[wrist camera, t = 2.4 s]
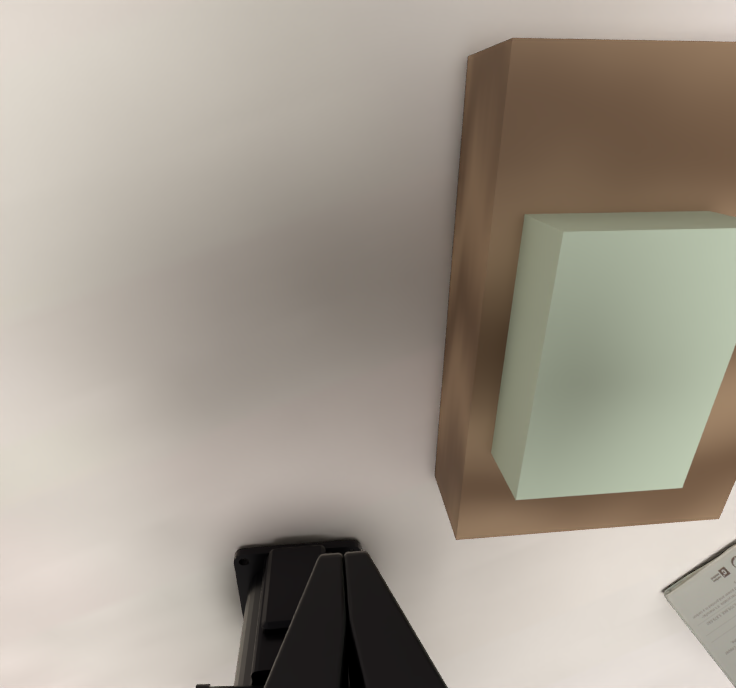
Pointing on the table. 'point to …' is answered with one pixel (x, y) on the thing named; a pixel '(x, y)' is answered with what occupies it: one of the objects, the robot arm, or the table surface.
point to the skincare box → (711, 608)
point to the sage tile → (614, 350)
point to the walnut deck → (575, 195)
